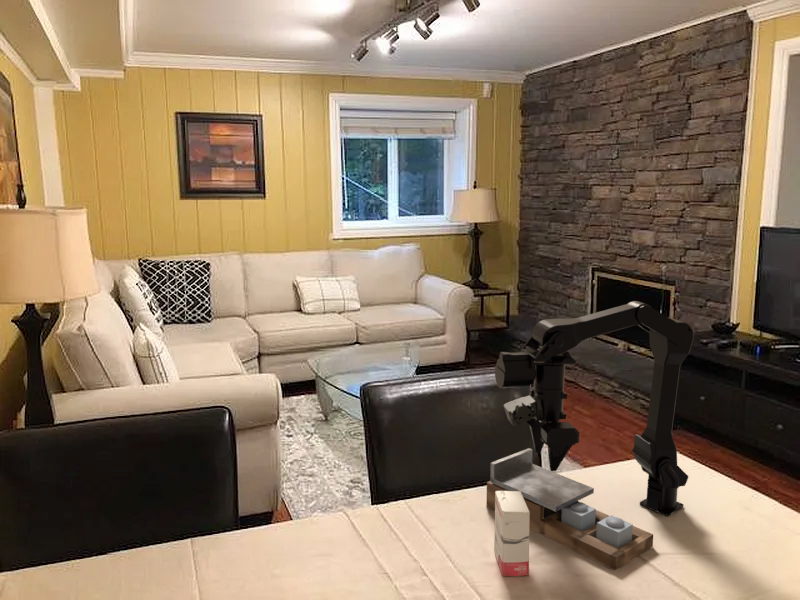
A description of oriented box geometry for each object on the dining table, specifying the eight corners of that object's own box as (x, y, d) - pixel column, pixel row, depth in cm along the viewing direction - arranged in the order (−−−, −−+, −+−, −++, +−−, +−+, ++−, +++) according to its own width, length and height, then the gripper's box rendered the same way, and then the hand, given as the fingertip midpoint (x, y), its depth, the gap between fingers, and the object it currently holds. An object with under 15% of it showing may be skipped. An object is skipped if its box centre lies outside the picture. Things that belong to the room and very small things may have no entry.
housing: (524, 489, 145) (524, 466, 144) (652, 547, 121) (654, 519, 120) (486, 506, 137) (486, 482, 136) (615, 570, 114) (617, 542, 113)
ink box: (529, 576, 112) (531, 512, 110) (501, 577, 112) (502, 512, 110) (519, 549, 121) (521, 489, 119) (493, 549, 121) (494, 489, 119)
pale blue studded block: (575, 524, 130) (576, 498, 129) (594, 533, 126) (595, 506, 125) (561, 531, 127) (561, 504, 126) (580, 540, 124) (581, 513, 123)
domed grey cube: (609, 539, 124) (611, 512, 123) (631, 549, 120) (632, 521, 120) (595, 547, 121) (597, 520, 120) (617, 558, 118) (618, 529, 117)
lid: (528, 466, 143) (528, 448, 142) (593, 493, 130) (594, 473, 129) (490, 482, 135) (490, 462, 135) (555, 511, 123) (556, 490, 122)
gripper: (496, 373, 136) (493, 444, 139) (522, 401, 118) (519, 483, 120) (548, 372, 137) (544, 443, 140) (582, 399, 119) (578, 480, 122)
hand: (545, 461), depth 130 cm, fingers open, 9 cm apart
